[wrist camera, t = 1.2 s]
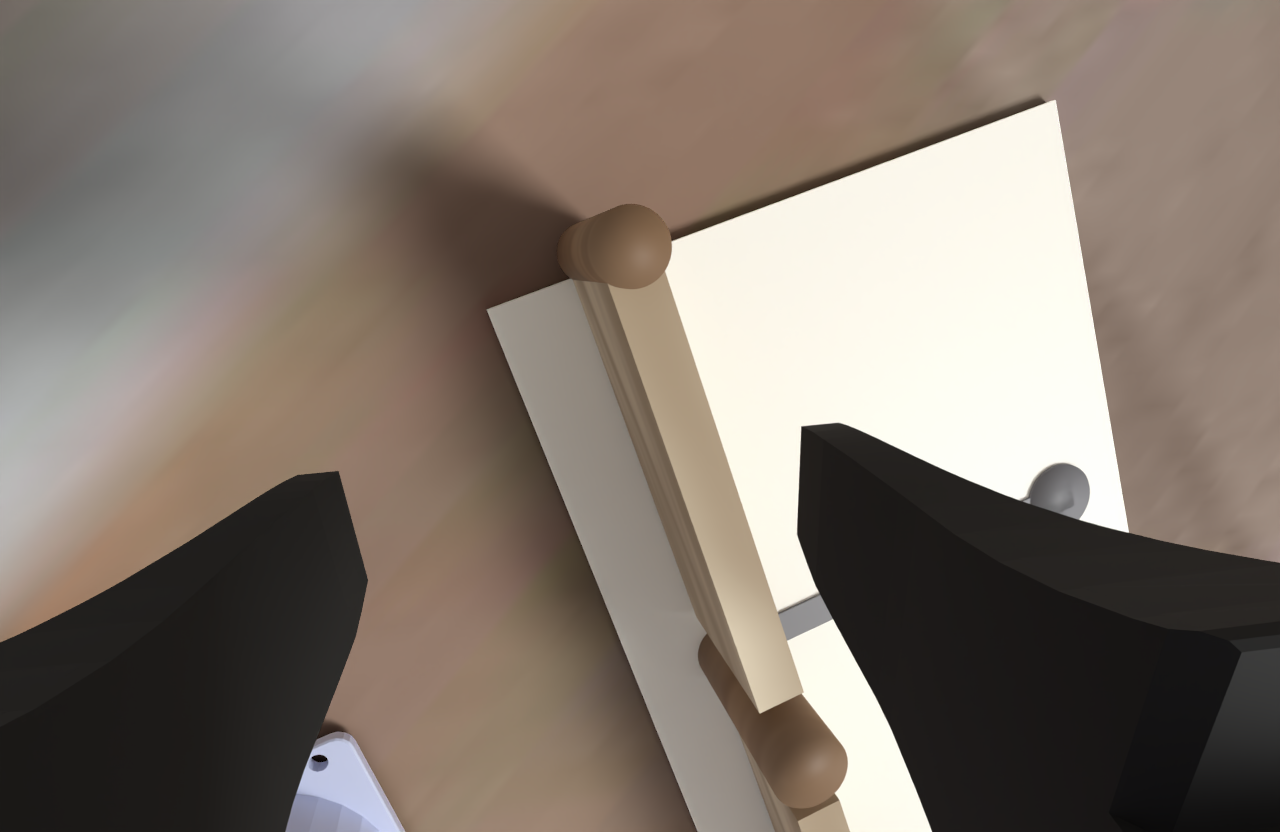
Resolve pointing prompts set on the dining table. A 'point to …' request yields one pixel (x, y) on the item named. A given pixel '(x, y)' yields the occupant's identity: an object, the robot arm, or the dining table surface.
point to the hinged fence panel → (678, 441)
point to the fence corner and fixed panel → (784, 752)
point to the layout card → (835, 414)
